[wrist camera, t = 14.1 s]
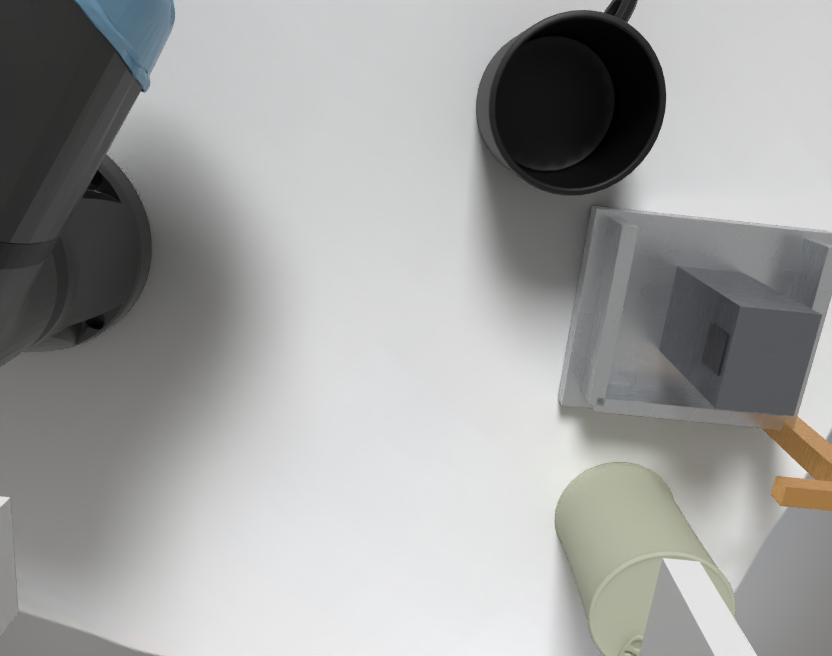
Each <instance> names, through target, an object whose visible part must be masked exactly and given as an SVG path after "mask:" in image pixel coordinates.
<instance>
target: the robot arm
mask: <svg viewBox="0 0 832 656" xmlns="http://www.w3.org/2000/svg"><path fill="white" fill-rule="evenodd" d="M174 20H175V8H174V2H173V0H0V366H2V365H4V364H5V363H7V362H8V361H10V360H11V359H13V358H14V357H16V356H17V355H19V354H20V353H22V352H40V351H54V350H61V349H65V348H70V347H73V346H76V345H79V344H82V343H84V342H86V341H89V340H91V339H93V338H95V337H96V336H98V335H99V334H101V333H102V332H104V331H105V330H107V329H108V328H109V327H111V326H112V325H113V324H115V323H116V322H118V321H119V320H120V319H121V318H122V317H123V316H124V315H125V314H126V313H127V312H128V311H129V310H130V309H131V307H132V306H133V305H134V303H135V302H136V301H137V299H138V297H139V296H140V294H141V292H142V290H143V287H144V285H145V282H146V280H147V276H148V273H149V268H150V262H151V236H150V229H149V224H148V220H147V216H146V213H145V210H144V207H143V205H142V203H141V200H140V198H139V196H138V194H137V192H136V190H135V189H134V187H133V185H132V184H131V182H130V181H129V179H128V178H127V177H126V175H125V174H124V173H123V171H122V170H121V169H120V168H119V167H118V166H117V165H116V163H115V162H114V161H113V160H112V159H111V158H109V157H108V156H107V155H106V153H107V151H108V150H109V148H110V146H111V144H112V142H113V141H114V139H115V137H116V135H117V133H118V131H119V130H120V128H121V126H122V124H123V122H124V121H125V119H126V117H127V115H128V113H129V111H130V110H131V108H132V106H133V104H134V102H135V101H136V99H137V97H138V95H139V93H140V91H142V92H147V90H148V89H149V86H150V77H149V76H150V74H151V72H152V69H153V67H154V65H155V63H156V61H157V59H158V57H159V55H160V53H161V51H162V49H163V47H164V45H165V43H166V41H167V39H168V37H169V35H170V33H171V31H172V28H173V24H174ZM17 614H18V598H17V584H16V569H15V555H14V541H13V526H12V512H11V497H2V496H0V636H1V635H2V634H3V632H4V631H5V630H6V629H7V627H8V626H9V625H10V623H11V622H12V621H13V619H14V618H15V617H16V615H17ZM639 656H757V655H756V653H755V652H754V650H753V649H752V647H751V645H750V643H749V642H748V640H747V639H746V637H745V635H744V634H743V632H742V630H741V629H740V627H739V626H738V624H737V622H736V620H735V619H734V617H733V616H732V614H731V612H730V611H729V609H728V607H727V606H726V604H725V602H724V601H723V599H722V598H721V596H720V594H719V593H718V591H717V589H716V588H715V586H714V584H713V583H712V581H711V580H710V578H709V576H708V575H707V573H706V571H705V570H704V568H703V566H702V565H701V563H700V562H699V561H689V560H678V559H667V558H662V562H661V566H660V570H659V575H658V579H657V583H656V587H655V591H654V595H653V600H652V604H651V608H650V612H649V616H648V620H647V625H646V629H645V633H644V637H643V641H642V645H641V650H640V654H639Z"/></svg>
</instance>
